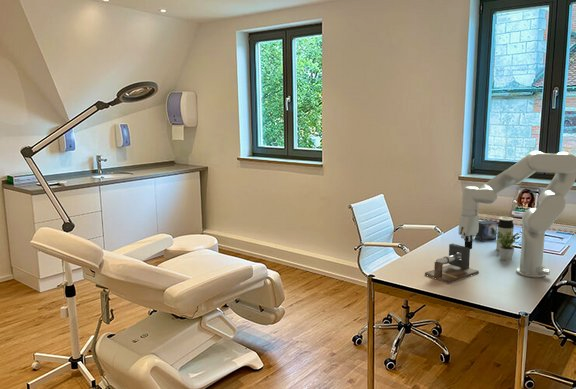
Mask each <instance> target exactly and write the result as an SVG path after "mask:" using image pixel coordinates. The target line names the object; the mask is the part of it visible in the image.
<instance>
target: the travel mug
mask: <svg viewBox="0 0 576 389" xmlns="http://www.w3.org/2000/svg"><path fill="white" fill-rule="evenodd" d="M514 219H515V218H513V217H510V216H500V217H498V222H497V235H496V240H501V238H500V236H501V235H500V233H499V232H498V230H499V231H500V232H501V233H502V235H503V237H504V235H505V238H506V230H507V233H508V232H509V231H510V229H511V236H512V237H513V235H514V226H515V224H514V222H513V221H514ZM498 234H499V235H500V236H499V235H498ZM512 237H510V239H511V238H512ZM513 245H514V243H512V244H511V245H510V246H512V247H513ZM500 246H502V244H501V243H500V242H498V241H496V251H497V250H498V251H499V252H500Z"/></svg>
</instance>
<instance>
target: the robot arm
mask: <svg viewBox="0 0 576 389" xmlns="http://www.w3.org/2000/svg"><path fill="white" fill-rule="evenodd" d="M536 172H538V173H548V174H549V173H550V174H554V176H553V178H552V179H551V181H550V182H549V183H548V185H547V186H545V187H546V188H544V190H542V191H541V194H540V195H539V196H538V199H537V200H538V206H537V207H530V208H528V209H527V210H525V211H524V213H523V215H522V218H521V222H522V223H521V226H522V227H521V229H522V230H521V234H522V235H521V243H520V244H521V247H520V262H519V267H517V268H516V269H515V272H516V273H517V274H518V275H520V276H523V277H527V278H535V279H536V278H543V277H545V276H550V272H551V270H550V269H546V268H545V267H546V266H545V265H543V263H544V262H543V260H544V252H545V251H544V249H545V237H546V235H545V233H546V232H547V231H548V230H549V229H550V228H551V227H552V226H553V224H555V222H556V221H557V219H558V218H559V217H560V216H561V214H562V213H563V212H564V210H565V208H566V199H565V197H566V196H567V195H568V193H569V192H570V190H571V189H572V187H573V186H574V184H575V182H576V156H575V155H574V154H572V153H570V152H567V151H560V152H557V153H545V152H542V151H540V150H533V151H531V152H528V154H526V155H525V156H524V157H522V158H520V159H519V160H518V161H517V162H515V164H513V165H511V166H510V167H508V168H507V169H505V170H503V171H502V172H501V173H499V174H497V175H495V176H494V177H493V178H491V179H490V180H488V181H487V182H485V183H484V184H483V185H481V187H480V188H479V187H477V186H471V185H470V186H465V187H463V189H462V197H461V198H462V199H461V200H462V201H461V215H460V217H459V222H458V223H459V224H458V235H459V236H460V238H461V239H463V240H464V247H467V248H470V250H472V249H473V241H474V239H475V236H476V235H477V233H478V230H479V221H480V220H479V207H480V206H479V204H486V205H488V204H489V205H490V204H494V203H495V202H496V201H497V199H498V194H500V192H502V191H504V190H505V189H507V188H509V187H513V186H517V185H518V184H521V183H522V182H524V181H525V180H526V179H528V178H529V177H530V176H533V175H534V174H535V173H536Z"/></svg>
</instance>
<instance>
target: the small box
mask: <svg viewBox="0 0 576 389" xmlns="http://www.w3.org/2000/svg"><path fill="white" fill-rule="evenodd" d="M497 230H498V222H496V221H494V220H491V219H490V220H479V230H478V233H477V235H476V236H474V239H476V240H479V241H481V242H483V241H492V240H494V241H495V240H497Z"/></svg>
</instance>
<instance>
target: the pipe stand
mask: <svg viewBox="0 0 576 389" xmlns="http://www.w3.org/2000/svg"><path fill="white" fill-rule="evenodd" d="M461 255H462V253H458V252H457V254H454V255H450V256H449V255H447V256H443V257H440V258H437V259H436V260H435V261H434V267H433V268H434V269H433V270H429V271H426V272H425V273H424V276H427V275H428V276H427V277H429V276H431V277H430V278H432V277H434V278H433V279H435V278H436V279H435V280H438V279H439V280H438V281H441V282H444V283H446V282H447V283H446V284H451V283H454V282H457V281H460V280H463V279H466V278H469V277H472V276H475V275H478V274H479V271H480V270H477V269H474V268H471V267H469V268H468V269H463V268H460V267H457V266H454V265H451V264H449V262H453V261H456V260H461ZM447 264H448V265H447ZM443 265H445V266H443ZM477 273H478V274H477ZM474 274H475V275H474ZM471 275H472V276H471Z"/></svg>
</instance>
